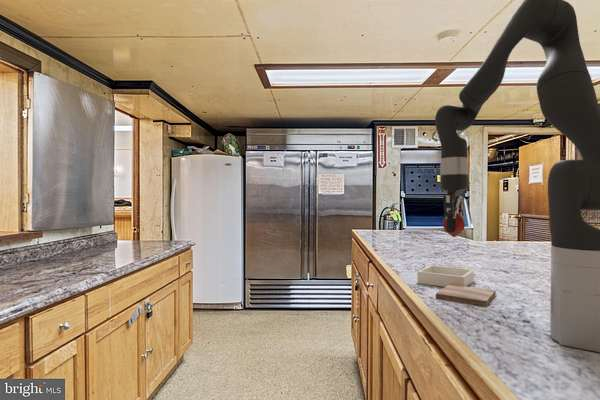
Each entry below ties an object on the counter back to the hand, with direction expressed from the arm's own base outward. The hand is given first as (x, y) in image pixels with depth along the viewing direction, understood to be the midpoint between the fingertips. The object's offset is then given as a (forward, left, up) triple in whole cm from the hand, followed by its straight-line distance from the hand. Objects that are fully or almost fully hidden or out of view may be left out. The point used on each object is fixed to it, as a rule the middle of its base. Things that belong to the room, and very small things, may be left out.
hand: (454, 231), depth 108 cm
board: (-8, -5, -16) cm, 19 cm away
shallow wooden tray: (+6, +4, -16) cm, 18 cm away
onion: (0, 0, -2) cm, 2 cm away
